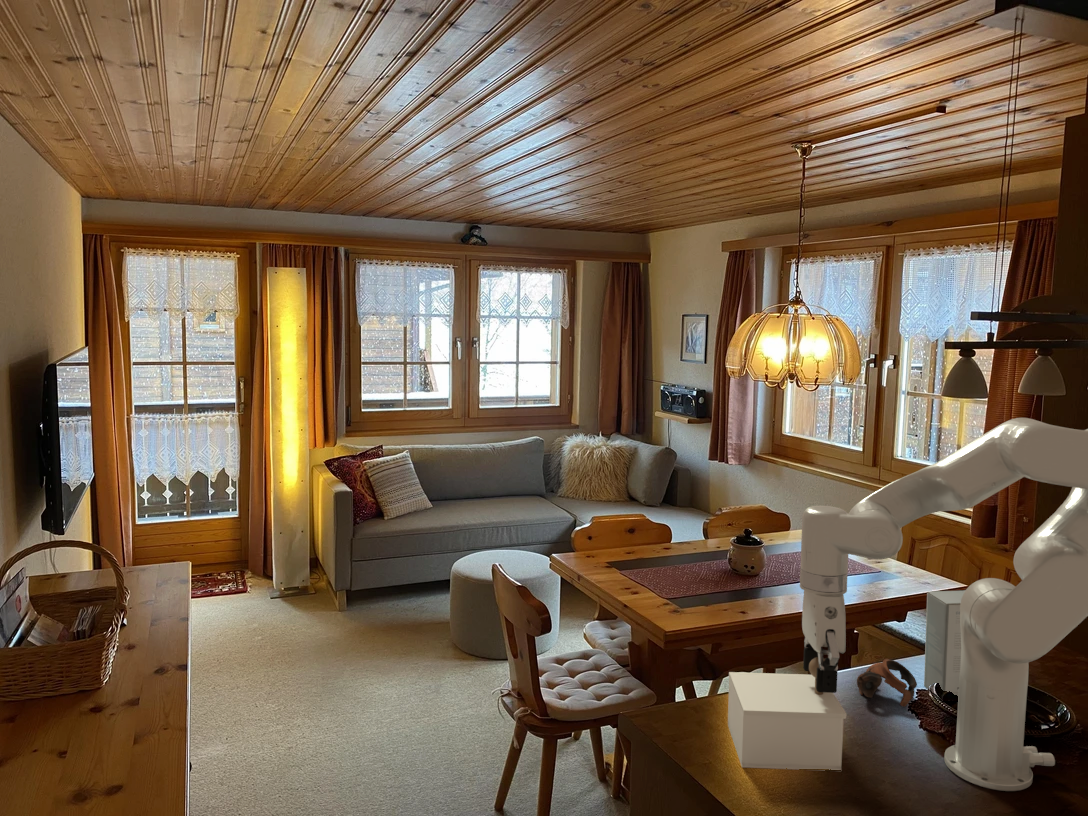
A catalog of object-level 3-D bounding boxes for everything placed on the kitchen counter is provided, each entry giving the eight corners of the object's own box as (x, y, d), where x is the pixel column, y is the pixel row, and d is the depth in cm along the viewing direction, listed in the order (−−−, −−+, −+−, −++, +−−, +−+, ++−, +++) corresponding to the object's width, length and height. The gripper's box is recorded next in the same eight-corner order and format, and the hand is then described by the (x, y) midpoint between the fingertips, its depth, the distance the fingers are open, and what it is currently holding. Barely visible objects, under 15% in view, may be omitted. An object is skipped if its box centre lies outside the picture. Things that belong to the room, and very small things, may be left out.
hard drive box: (996, 684, 160) (1002, 589, 158) (1020, 702, 152) (1027, 602, 150) (921, 685, 160) (926, 589, 158) (941, 703, 152) (947, 603, 150)
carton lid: (821, 679, 142) (822, 641, 141) (846, 718, 127) (848, 677, 127) (728, 676, 143) (729, 639, 142) (743, 715, 128) (744, 673, 128)
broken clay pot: (874, 683, 162) (898, 654, 159) (906, 721, 154) (931, 692, 151) (835, 680, 156) (859, 651, 153) (866, 720, 148) (892, 690, 145)
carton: (817, 727, 142) (819, 680, 141) (841, 771, 128) (843, 718, 128) (727, 724, 143) (729, 677, 142) (741, 767, 130) (743, 715, 129)
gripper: (863, 598, 124) (858, 706, 125) (830, 565, 141) (827, 660, 143) (814, 597, 124) (810, 704, 126) (788, 564, 141) (784, 659, 143)
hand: (819, 680), depth 134 cm, fingers open, 7 cm apart
